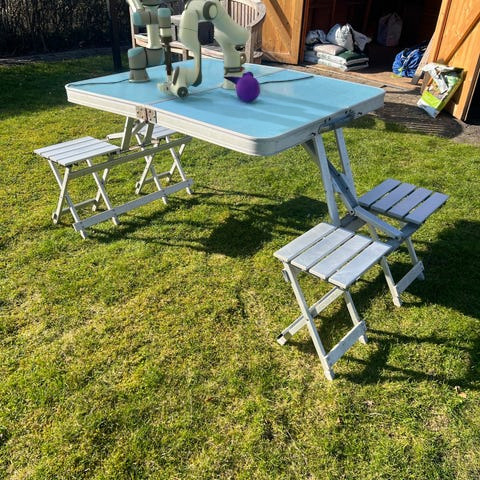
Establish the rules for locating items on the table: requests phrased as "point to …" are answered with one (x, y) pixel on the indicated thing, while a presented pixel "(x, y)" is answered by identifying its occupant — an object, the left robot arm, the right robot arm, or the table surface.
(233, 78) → the toy
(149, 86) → the table surface
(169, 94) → the cream long cylinder
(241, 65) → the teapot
